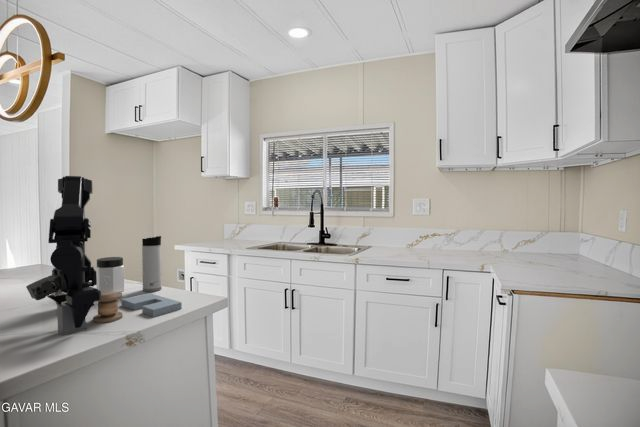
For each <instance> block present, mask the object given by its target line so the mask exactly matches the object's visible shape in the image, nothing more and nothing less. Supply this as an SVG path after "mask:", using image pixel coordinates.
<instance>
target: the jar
mask: <svg viewBox="0 0 640 427" xmlns="http://www.w3.org/2000/svg"><path fill="white" fill-rule="evenodd" d="M95 268H96V269H95V271H96V277H97V285H96V289H98V290H99V291H101V293H106V292H121V293H122V292H125V266H124V257H122V256H108V257H107V256H106V257H100V258H97V259H96V267H95Z"/></svg>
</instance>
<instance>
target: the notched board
mask: <svg viewBox="0 0 640 427" xmlns="http://www.w3.org/2000/svg"><path fill="white" fill-rule="evenodd" d="M120 299H121V300H120V301H121V302H120V303H121V304H120V306H121V307H125V308H127V309H130V310H133V311H136V310H140V309H142V311H141V312H142V314H145V315H147V316H150V317H153V318H154V317H157V316H161V315H165V314H167V313H171V312H175V311H178V310H181V309H182V305H183V304H182V302H181V301H179V300H176V299H171V298H169V297H165V296H160V295H157V294H154V293H152V292H146V293H143V294H139V295H135V296H131V297H129V296H128V297H126V298H120Z"/></svg>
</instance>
